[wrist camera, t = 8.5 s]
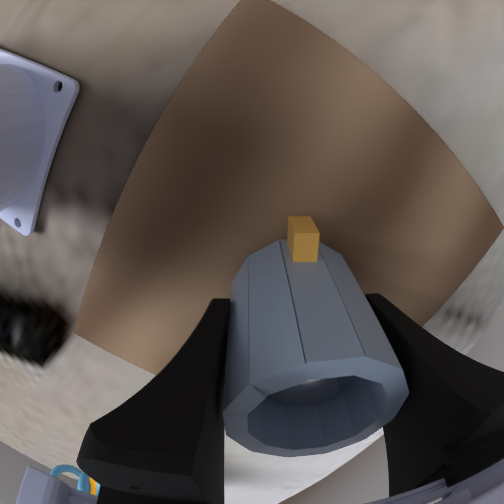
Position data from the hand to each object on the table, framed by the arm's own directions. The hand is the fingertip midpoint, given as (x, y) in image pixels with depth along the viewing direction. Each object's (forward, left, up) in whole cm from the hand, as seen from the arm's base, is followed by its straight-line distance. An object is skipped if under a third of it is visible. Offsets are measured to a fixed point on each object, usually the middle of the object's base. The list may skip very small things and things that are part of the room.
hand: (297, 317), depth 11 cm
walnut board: (0, 0, -3) cm, 3 cm away
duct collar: (0, 0, -1) cm, 1 cm away
